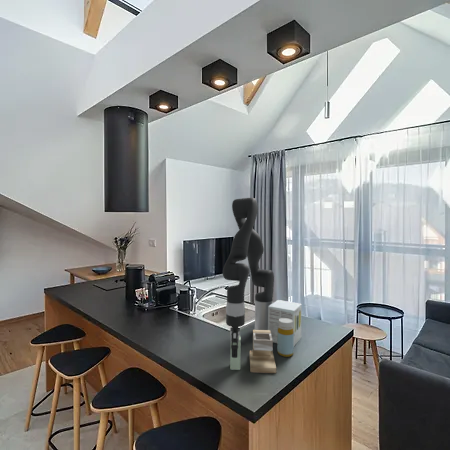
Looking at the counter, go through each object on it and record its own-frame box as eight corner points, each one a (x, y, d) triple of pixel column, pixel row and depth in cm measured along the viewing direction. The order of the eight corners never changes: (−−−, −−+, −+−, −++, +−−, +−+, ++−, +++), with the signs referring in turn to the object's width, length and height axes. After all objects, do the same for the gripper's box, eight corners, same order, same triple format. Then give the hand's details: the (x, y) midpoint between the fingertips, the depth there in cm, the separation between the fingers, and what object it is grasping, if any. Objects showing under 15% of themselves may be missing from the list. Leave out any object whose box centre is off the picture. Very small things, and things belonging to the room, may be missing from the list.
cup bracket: (249, 355, 126) (249, 328, 126) (272, 355, 126) (272, 328, 125) (250, 372, 112) (250, 341, 112) (276, 373, 112) (276, 342, 111)
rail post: (230, 364, 118) (230, 335, 118) (240, 364, 118) (240, 335, 118) (230, 369, 114) (230, 339, 114) (240, 369, 114) (240, 340, 114)
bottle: (274, 353, 128) (274, 320, 127) (283, 348, 133) (283, 316, 132) (287, 359, 123) (288, 324, 122) (296, 353, 128) (296, 320, 127)
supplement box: (293, 347, 133) (294, 310, 133) (267, 341, 140) (267, 306, 140) (301, 337, 145) (302, 303, 144) (277, 332, 152) (277, 299, 151)
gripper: (227, 306, 123) (226, 344, 123) (225, 318, 108) (224, 360, 109) (244, 307, 122) (244, 345, 123) (244, 318, 108) (244, 361, 108)
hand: (234, 352), depth 116 cm, fingers open, 8 cm apart
